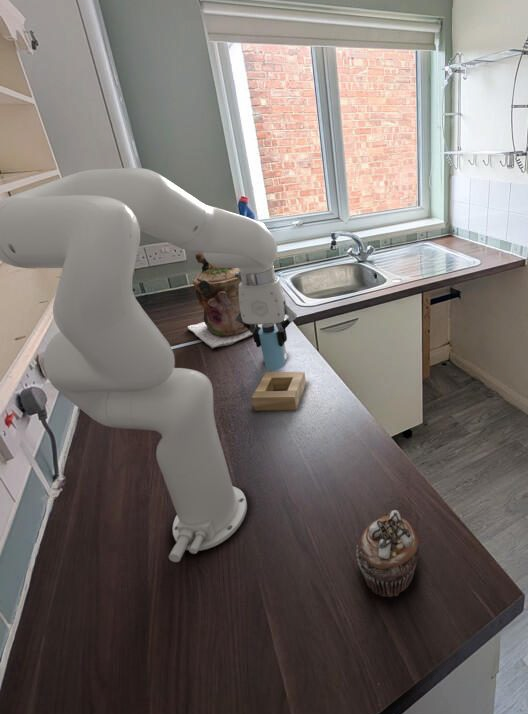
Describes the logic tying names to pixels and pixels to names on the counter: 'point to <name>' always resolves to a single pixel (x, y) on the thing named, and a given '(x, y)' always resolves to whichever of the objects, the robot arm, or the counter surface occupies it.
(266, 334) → the bottle
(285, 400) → the square wooden frame
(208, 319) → the cookie jar
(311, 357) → the counter surface
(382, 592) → the cupcake
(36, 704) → the counter surface
